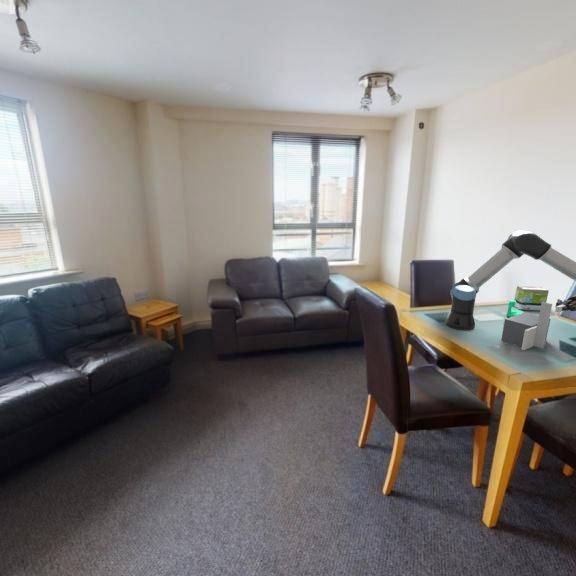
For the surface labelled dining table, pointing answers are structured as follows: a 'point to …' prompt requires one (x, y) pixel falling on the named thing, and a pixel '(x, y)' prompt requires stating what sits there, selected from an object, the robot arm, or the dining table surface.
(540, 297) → the tea box
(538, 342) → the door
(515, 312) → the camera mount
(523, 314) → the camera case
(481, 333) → the dining table surface
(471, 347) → the dining table surface
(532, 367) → the dining table surface
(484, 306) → the dining table surface
